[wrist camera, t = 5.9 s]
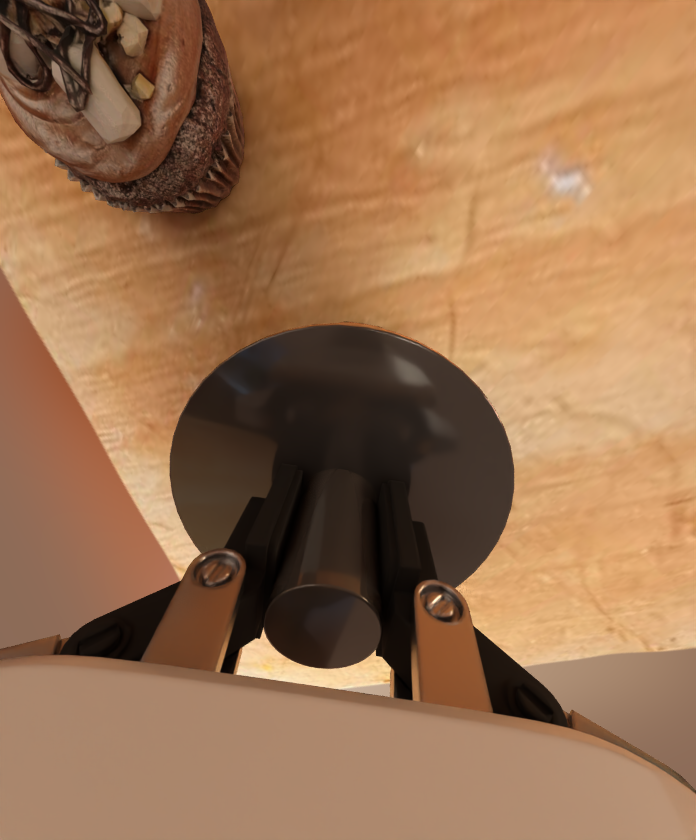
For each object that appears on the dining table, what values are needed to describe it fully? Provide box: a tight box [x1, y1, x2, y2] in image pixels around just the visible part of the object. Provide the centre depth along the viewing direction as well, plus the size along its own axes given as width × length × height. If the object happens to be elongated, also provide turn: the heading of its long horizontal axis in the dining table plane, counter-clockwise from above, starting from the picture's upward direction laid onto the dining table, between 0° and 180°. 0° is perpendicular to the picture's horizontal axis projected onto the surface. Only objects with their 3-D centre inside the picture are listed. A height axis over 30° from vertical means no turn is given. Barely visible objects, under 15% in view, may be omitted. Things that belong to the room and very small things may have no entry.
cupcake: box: [0, 0, 244, 213], centre depth 14 cm, size 10×10×10 cm
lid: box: [170, 323, 514, 669], centre depth 11 cm, size 13×13×6 cm
